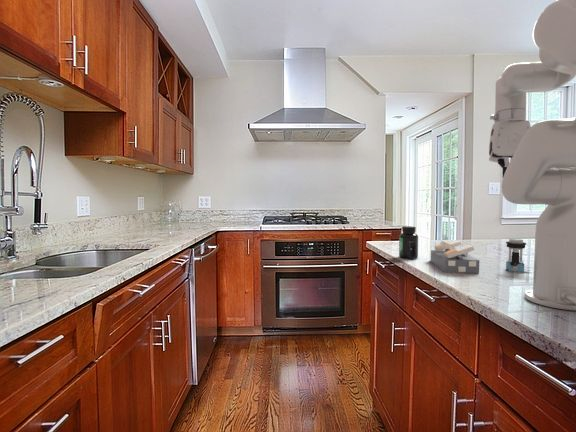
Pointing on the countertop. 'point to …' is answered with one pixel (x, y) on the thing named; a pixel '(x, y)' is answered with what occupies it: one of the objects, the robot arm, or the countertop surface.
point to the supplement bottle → (408, 243)
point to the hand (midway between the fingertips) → (509, 181)
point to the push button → (515, 255)
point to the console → (455, 262)
